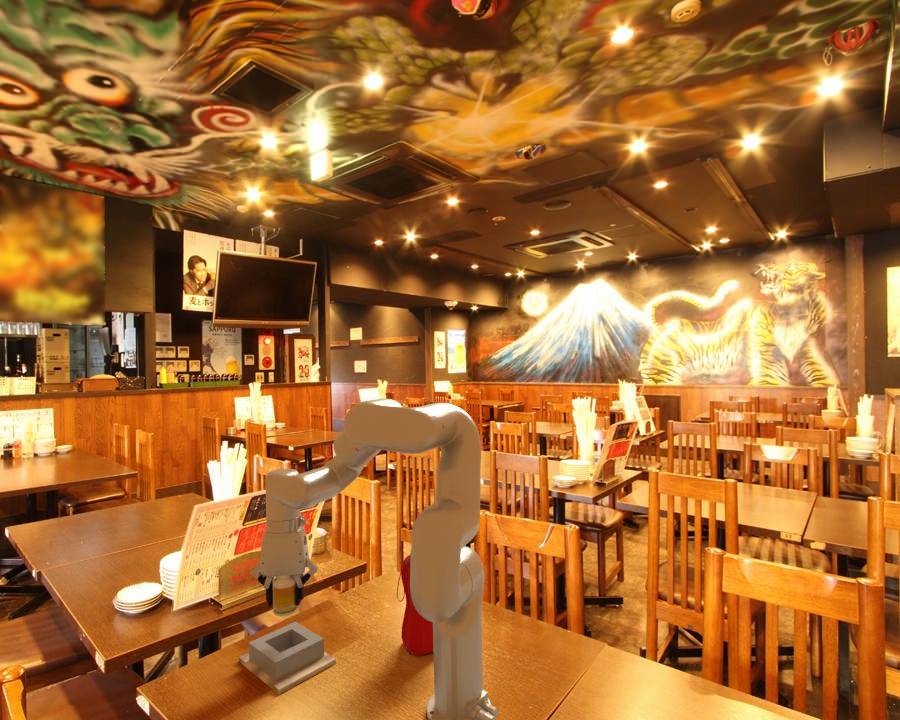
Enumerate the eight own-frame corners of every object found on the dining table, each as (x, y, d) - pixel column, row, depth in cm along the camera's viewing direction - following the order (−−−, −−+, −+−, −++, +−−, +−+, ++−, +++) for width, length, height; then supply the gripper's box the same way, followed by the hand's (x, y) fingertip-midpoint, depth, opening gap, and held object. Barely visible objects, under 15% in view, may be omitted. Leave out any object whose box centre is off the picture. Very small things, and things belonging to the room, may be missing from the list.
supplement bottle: (300, 612, 115) (300, 569, 115) (276, 619, 112) (275, 575, 112) (293, 603, 120) (293, 562, 120) (270, 609, 117) (269, 567, 117)
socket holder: (324, 656, 116) (323, 638, 116) (276, 681, 108) (275, 662, 108) (296, 637, 125) (295, 621, 125) (249, 660, 116) (248, 642, 116)
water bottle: (391, 643, 123) (389, 540, 123) (432, 631, 128) (430, 532, 128) (406, 663, 115) (403, 553, 115) (449, 649, 120) (446, 543, 120)
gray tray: (335, 663, 115) (335, 658, 115) (279, 694, 105) (279, 689, 105) (293, 635, 127) (293, 631, 127) (238, 661, 117) (238, 657, 117)
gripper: (324, 517, 120) (326, 594, 120) (251, 520, 119) (252, 597, 119) (318, 528, 113) (319, 609, 113) (239, 531, 112) (241, 613, 112)
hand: (285, 602), depth 116 cm, fingers closed on supplement bottle, 5 cm apart
